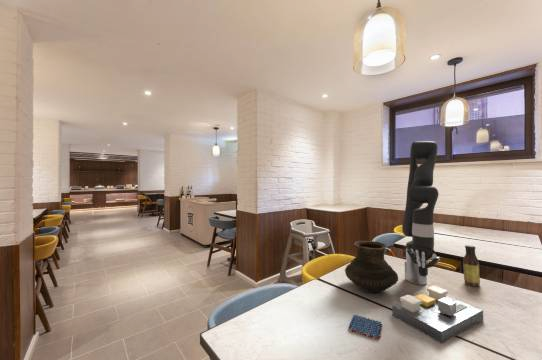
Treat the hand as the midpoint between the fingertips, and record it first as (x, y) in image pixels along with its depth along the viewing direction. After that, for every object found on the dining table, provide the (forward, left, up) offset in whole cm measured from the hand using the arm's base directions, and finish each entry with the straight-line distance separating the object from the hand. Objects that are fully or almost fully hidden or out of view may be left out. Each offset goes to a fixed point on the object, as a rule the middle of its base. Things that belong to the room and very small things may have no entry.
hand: (423, 275), depth 94 cm
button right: (0, +9, -13) cm, 16 cm away
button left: (0, -9, -13) cm, 16 cm away
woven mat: (-3, -30, -16) cm, 34 cm away
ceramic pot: (-24, -3, -15) cm, 29 cm away
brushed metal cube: (+9, 0, -10) cm, 14 cm away
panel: (+5, 0, -15) cm, 16 cm away
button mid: (0, 0, -14) cm, 15 cm away
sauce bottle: (-4, +48, -15) cm, 51 cm away
